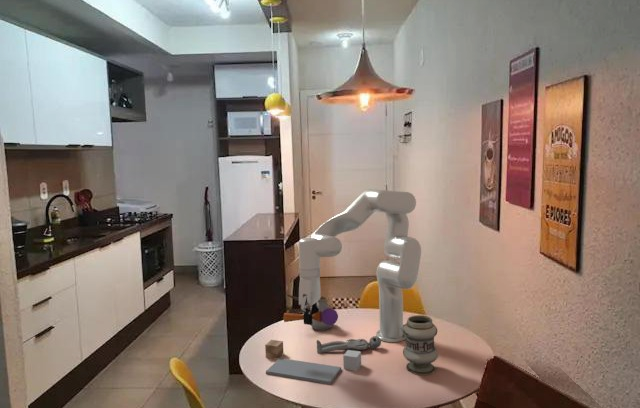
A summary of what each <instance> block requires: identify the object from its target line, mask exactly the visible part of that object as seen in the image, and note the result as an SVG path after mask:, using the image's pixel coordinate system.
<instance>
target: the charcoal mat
mask: <svg viewBox="0 0 640 408" xmlns="http://www.w3.org/2000/svg"><path fill="white" fill-rule="evenodd" d="M341 371H342V367H341V366H337V365H330V364H323V363H317V362H316V363H315V362H311V361H310V362H309V361H301V360H297V359H296V360H295V359H289V358H283V357H282V358H281V357H279V358H278V359H276V361H275V362H274V363H273V364H272V365H271V366H270V367H268V368H267V370H265V375H270V376H271V375H272V376H276V377H277V376H278V377H284V378H287V379H288V378H289V379H296V380H301V381H308V382H313V383H319V384H324V385H325V384H326V385H332V384H333V382H334V380H335V379H336V377H338V375H339V374H340V372H341Z"/></svg>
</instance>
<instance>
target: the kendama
mask: <svg viewBox="0 0 640 408" xmlns="http://www.w3.org/2000/svg"><path fill="white" fill-rule="evenodd" d="M338 318H339V314H338V312H337V310H335V309H334V308H332V307H329V308H327V309H325V310H324V311H323V312H321V311H319V312H317V313H315V314H313V315H312V319H314V320H316V321H318V322H320V323H321V322H322V321H323V322H324V324H326V325H332V326H334V325H335V324H336V323H337V322H338V320H339V319H338ZM302 320H303V321H304V315H303V313H302V314H300V313H290V312H284V313H283V322H284V323H288V322H296V321H302Z"/></svg>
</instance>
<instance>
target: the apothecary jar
mask: <svg viewBox="0 0 640 408" xmlns="http://www.w3.org/2000/svg"><path fill="white" fill-rule="evenodd" d="M406 320H407V321H406V323H405V324H403V325H404V326H403V333H404V334H405V335H406V339H405V342H406V343H405V346H404V348H403V349H402V355H403V357H404V358H405V359H406V360H407V361H408V363H407V364H406V366H405V367H406V370H407V371H408V372H411V373H412V374H414V375H417V376H427V375H431V374H433V373H435V371H436V367H435V366H434V364H432V363H434V362H435V361H437V359H438V357H439V351H438V349H437V347H435V337H436V336H437V335H438V328H437V326H436V325H435V324H434V323H433V319H432V318H431V317H430V316H428V315H422V314H417V315H414V314H413V315H410V316H408V318H407V319H406Z"/></svg>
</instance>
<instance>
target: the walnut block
mask: <svg viewBox="0 0 640 408" xmlns="http://www.w3.org/2000/svg"><path fill="white" fill-rule="evenodd" d="M264 347H265V348H264V349H265V358H267V359H268V358H269V359H273V360H274V359H276V360H278V359H279V358H281V357H282V356H283V355H284V341H283V340H278V339H277V340H276V339H271V340H269V341H268V342H267V343H265V345H264Z"/></svg>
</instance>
